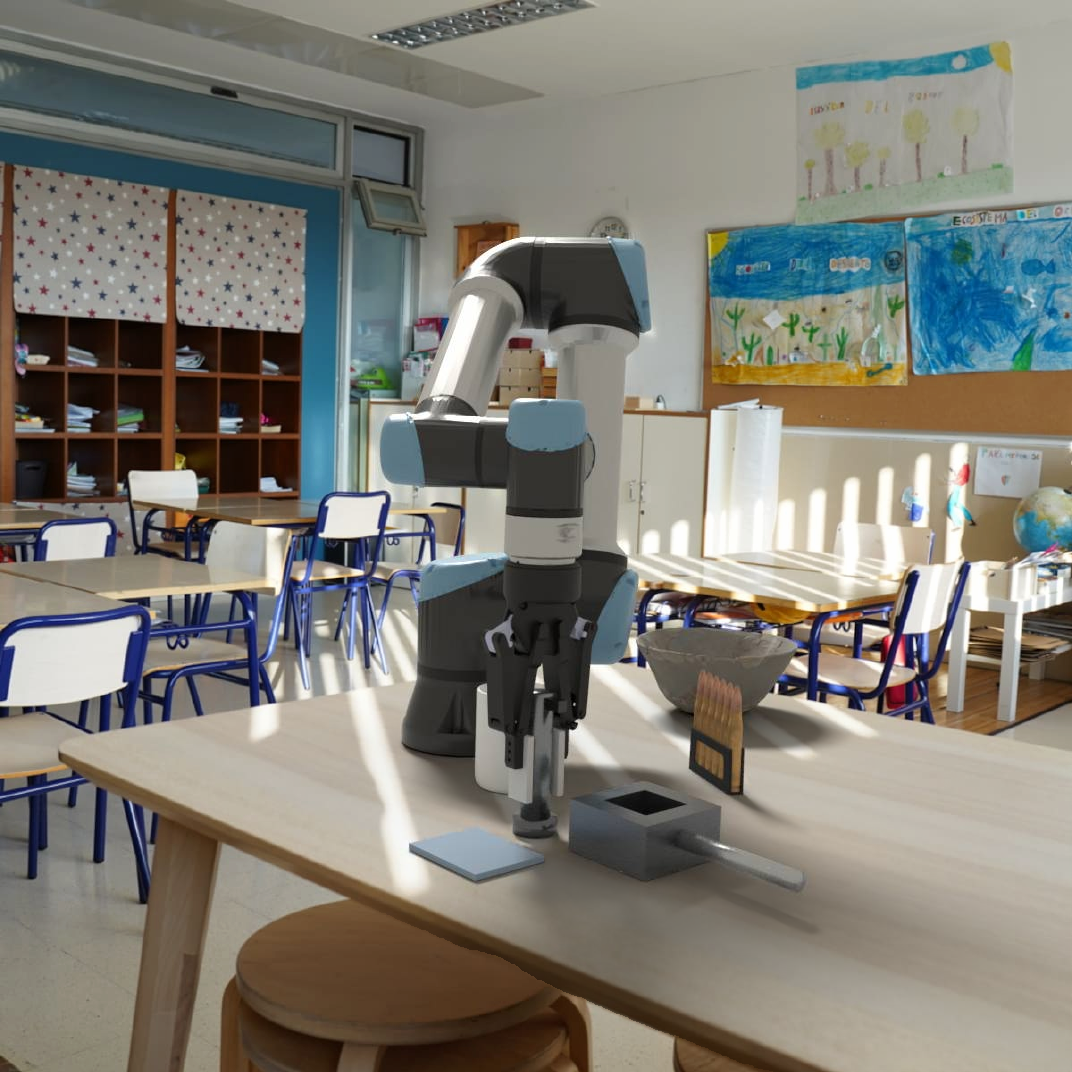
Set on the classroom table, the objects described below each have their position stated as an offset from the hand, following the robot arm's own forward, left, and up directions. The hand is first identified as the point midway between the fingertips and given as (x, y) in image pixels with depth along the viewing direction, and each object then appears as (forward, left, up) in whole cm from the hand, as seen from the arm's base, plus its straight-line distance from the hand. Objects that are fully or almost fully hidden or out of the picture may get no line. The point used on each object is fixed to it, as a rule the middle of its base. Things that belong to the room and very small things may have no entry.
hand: (535, 795), depth 126 cm
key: (0, 0, -4) cm, 4 cm away
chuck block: (+17, +4, -4) cm, 18 cm away
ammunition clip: (-1, +28, -4) cm, 28 cm away
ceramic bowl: (-24, +54, -4) cm, 59 cm away
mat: (+2, -9, -4) cm, 10 cm away
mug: (-15, +9, -4) cm, 18 cm away
